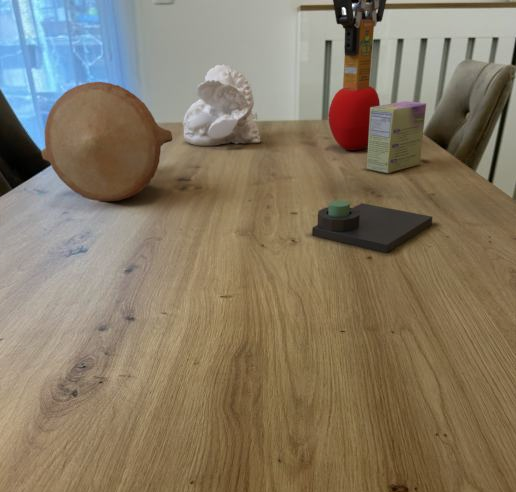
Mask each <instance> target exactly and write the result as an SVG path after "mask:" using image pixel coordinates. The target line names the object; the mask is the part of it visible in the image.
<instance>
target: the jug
mask: <svg viewBox="0 0 516 492" xmlns="http://www.w3.org/2000/svg"><path fill="white" fill-rule="evenodd" d="M172 141H173V134H172V131H170V130H169V129H165V128H163V127H161V126H160V125H158V123H157V122H156V120H155V117H154V116H153V114H152V112H151V111H150V109H149V108H148V106H147V105H146V104H145V102H143V101H142V100H141V99H140V98H139V97H138V96H137V95H135V94H134V93H133V92H131V91H129V90H128V89H126V88H124V87H122V86H120V85H117V84H113V83H111V82H104V81H91V82H86V83H83V84H79V85H75V86H74V87H72V88H70V89H68V90H67V91H65V92H64V93H62V94H61V96H60V97H59V98H57V100H56V101H55V102H54V104H53V105H52V106H51V108H50V111H48V115H47V117H46V122H45V127H44V146H45V147H44V148H43V149H42V150H41V157H42V159H43V160H44V161H47V162H49V163H50V166H51V168H52V169H53V171H54V172H55V175H57V177H58V178H59V179H60V181H62V183H64V184H65V186H67V187H68V188H69V189H70V190H72V191H73V192H74V193H75V194H78V195H80V196H81V197H83V198H86V199H89V200H93V201H98V202H118V201H122V200H125V199H129V198H131V197H133V196H135V195H137V194H138V193H140V192H141V191H142V190H143V189H144V188H145V187H146V186H147V185H149V184H150V182H151V181H152V179H153V178H154V177H155V175H156V172H157V170H158V168H159V164H160V157H161V149H162V148H161V147H162V146H163V145H164V144H167V143H171V142H172Z"/></svg>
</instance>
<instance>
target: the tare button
mask: <svg viewBox="0 0 516 492" xmlns="http://www.w3.org/2000/svg"><path fill="white" fill-rule="evenodd" d="M328 207H329V209H328V215H329V216H334V217H344V216H349V213H350V208H351V203H350V201H348V200H344V199H343V200H342V199H335V200H331V201H329V202H328Z"/></svg>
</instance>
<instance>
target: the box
mask: <svg viewBox="0 0 516 492" xmlns="http://www.w3.org/2000/svg"><path fill="white" fill-rule="evenodd" d="M426 110H427V102H420V101H419V102H418V101H399V102H394V103H393V102H392V103H388V104H380V106H375V107H370V122H369V139H368V146H367V156H366V170H369V171H374V172H378V173H384V174H390V173H393V172H397V171H401V170H405V169H408V168H411V167H416V166H420V163H421V155H422V146H423V138H424V137H423V136H424V129H425V119H426Z"/></svg>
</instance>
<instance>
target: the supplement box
mask: <svg viewBox="0 0 516 492" xmlns="http://www.w3.org/2000/svg"><path fill="white" fill-rule="evenodd" d="M357 29H360V34H359V53H358V55H356V56H346V55H345V54H344V57H343V58H344V59H343V78H342V81H343V82H342V89H343V88H344V89H347V90H362V89H368V88H369V86H370V80H371V69H372V58H373V57H372V55H373V46H374V45H373V44H374V43H373V42H374V33H375V31H374V30H375V27H374V20H367V19H361V20H360V26H359V28H357ZM372 45H373V46H372Z"/></svg>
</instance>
